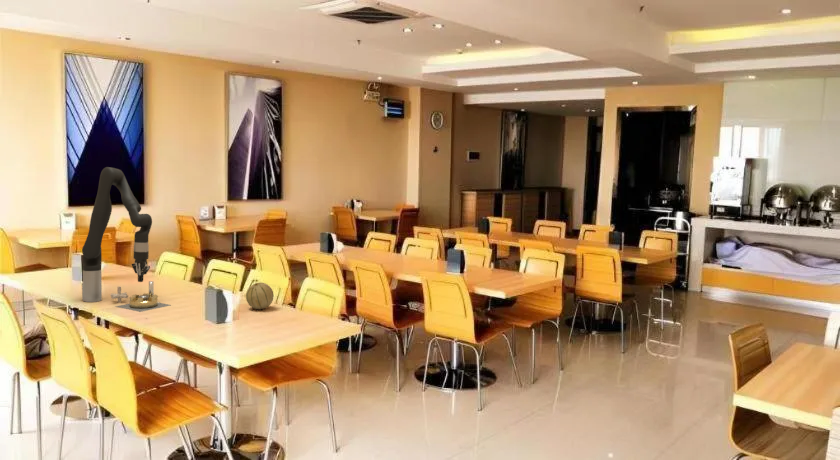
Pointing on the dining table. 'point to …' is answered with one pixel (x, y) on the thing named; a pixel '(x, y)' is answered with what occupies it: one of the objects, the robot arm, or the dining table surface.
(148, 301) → the brass lugged hub
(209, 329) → the dining table surface
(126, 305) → the base plate
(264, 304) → the cantaloupe
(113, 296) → the pipe connector
